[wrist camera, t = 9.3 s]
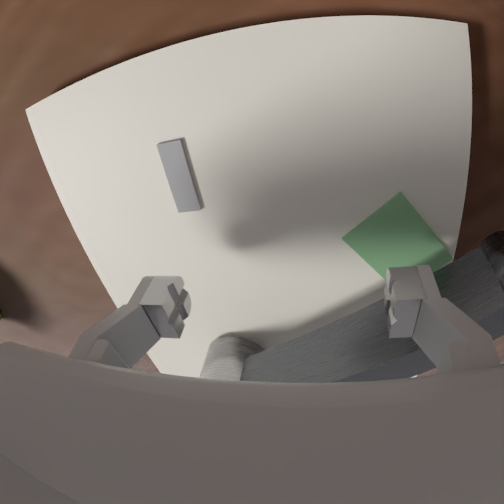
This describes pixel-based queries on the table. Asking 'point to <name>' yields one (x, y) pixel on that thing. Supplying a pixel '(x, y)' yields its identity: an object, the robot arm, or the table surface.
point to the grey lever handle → (368, 333)
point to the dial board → (267, 170)
